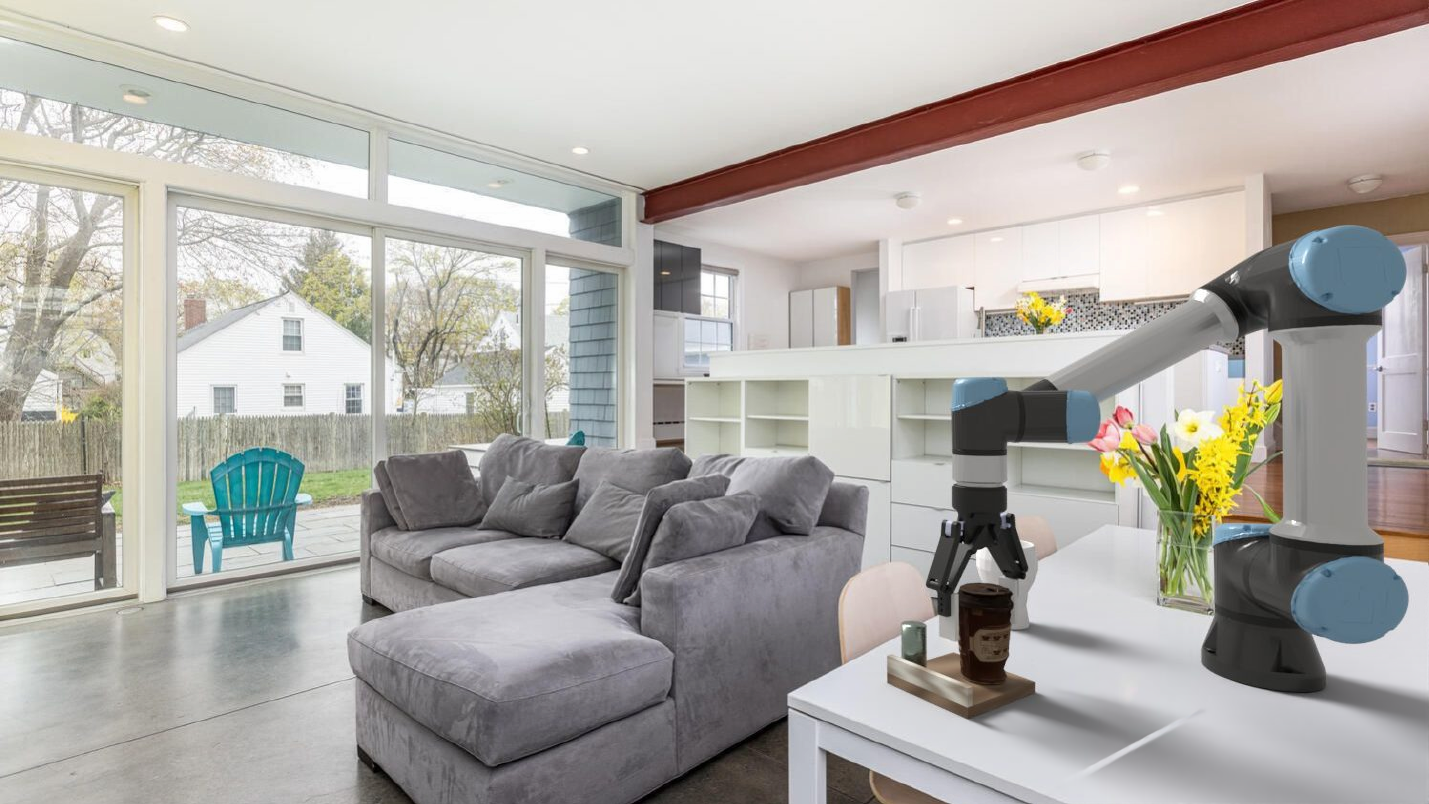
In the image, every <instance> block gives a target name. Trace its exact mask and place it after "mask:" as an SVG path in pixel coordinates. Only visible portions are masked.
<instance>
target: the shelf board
mask: <svg viewBox="0 0 1429 804" xmlns="http://www.w3.org/2000/svg"><path fill="white" fill-rule="evenodd" d="M886 660H887V661H886V671H887V672H886V674H887V675H886V683H887V684H889V685H892V686H893V687H895V688H899V689H900V690H902V691H905V692H907V693H910V694H911V695H914V696H916V697H918V698H920V699H922V700H925V701H927V702H929V703H932V704H933V705H935V706H938V707H940V708H942V709H945V710H946V711H949V712H951V713H953V714H956V715H958V716H960V717H962V718H965V719H967V720H969V719H971V718H974V717H976V716H979V715H981V714H984V713H986V712H987V713H988V712H989V711H991V710H994V709H996V708H999V707H1002V706H1005V705H1007V704H1009V703H1013V702H1015V701H1018V700H1019V699H1022V698H1025V697H1027V696H1030V695H1033V694H1036V681H1034V680H1031V679H1029V678H1028V679H1027V678H1025V677H1023V676H1019V675H1017V674H1015V673H1012V672H1009V671H1006V670H1005V672H1006V675H1007V679H1006V680H1005V681H1004V682H1002V683H999V684H981V683H976V682H972V681H969V680H967V679H965V678H964V677H963V676H962V674H961V671H960V669H961V665H960V653H957V652H949V653H946V654H944V655H941V656H937V657H933V658H931V659H927V668H925V667H922V666H920V665H917V664H915V663H912V662H910V661H907V660H905V659H902V658H901V657H900V656H897V655H895V654H893V653H891V654H888V655H886Z"/></svg>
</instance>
